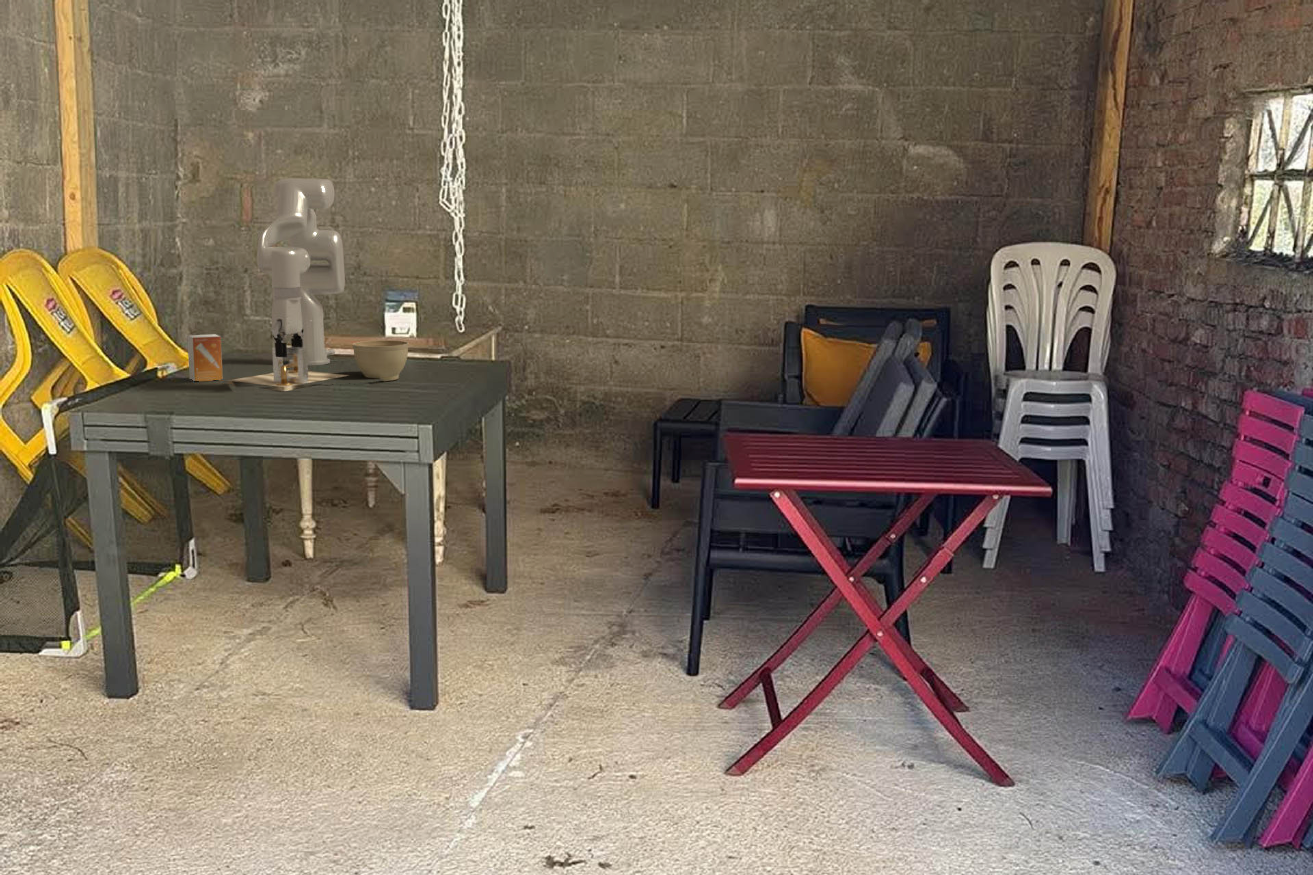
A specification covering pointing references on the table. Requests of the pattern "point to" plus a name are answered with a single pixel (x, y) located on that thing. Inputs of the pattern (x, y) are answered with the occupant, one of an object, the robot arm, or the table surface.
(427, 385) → the table surface
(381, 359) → the planter bowl
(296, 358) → the brass faucet
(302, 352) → the white square frame
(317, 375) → the base board
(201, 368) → the small box
